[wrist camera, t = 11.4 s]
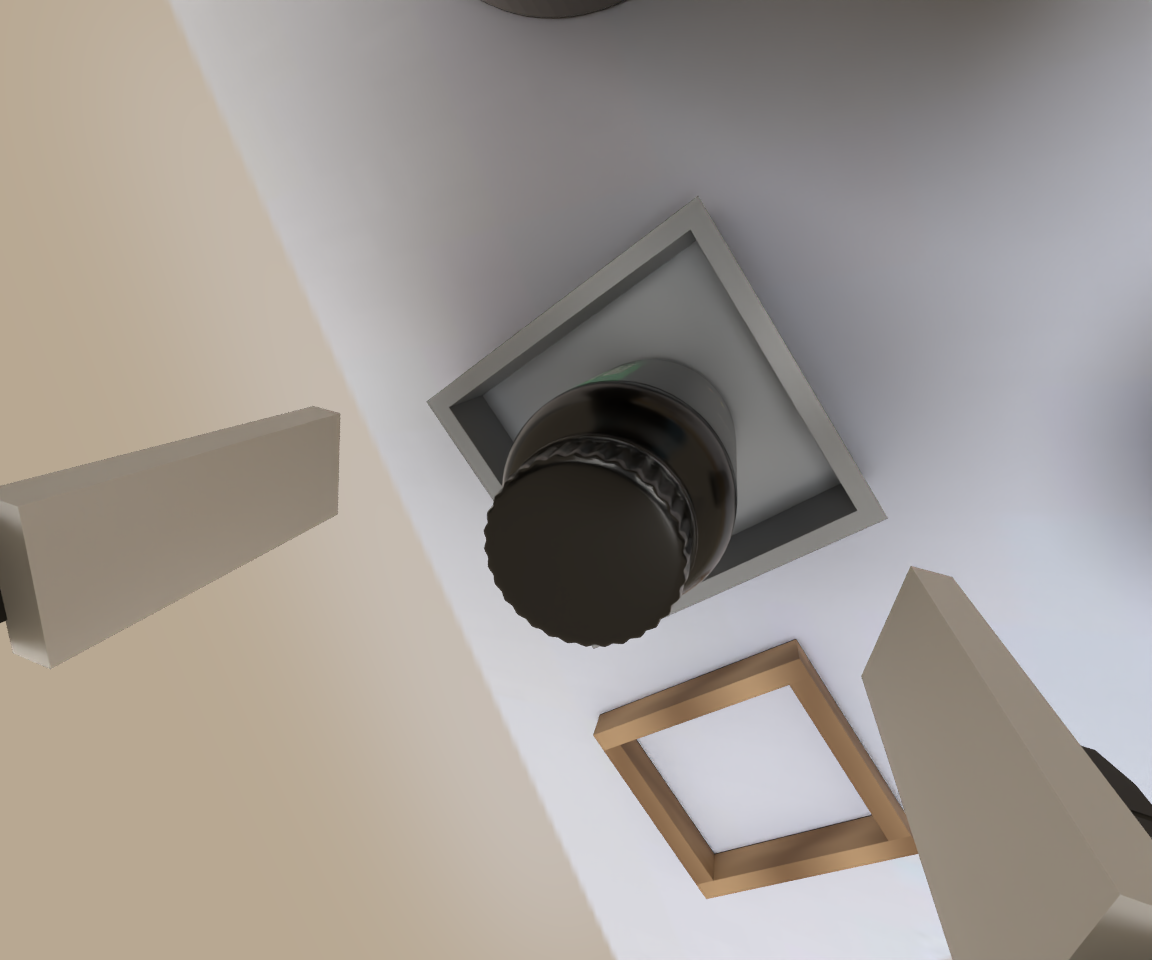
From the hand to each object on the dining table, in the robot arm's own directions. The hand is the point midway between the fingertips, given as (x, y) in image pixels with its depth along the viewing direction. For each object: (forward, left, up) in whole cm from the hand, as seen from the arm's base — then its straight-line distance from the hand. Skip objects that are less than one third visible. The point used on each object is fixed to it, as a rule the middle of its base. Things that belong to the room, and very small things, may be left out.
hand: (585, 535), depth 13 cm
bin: (0, 0, -13) cm, 13 cm away
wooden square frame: (+5, +17, -13) cm, 22 cm away
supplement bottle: (0, 0, -12) cm, 12 cm away
